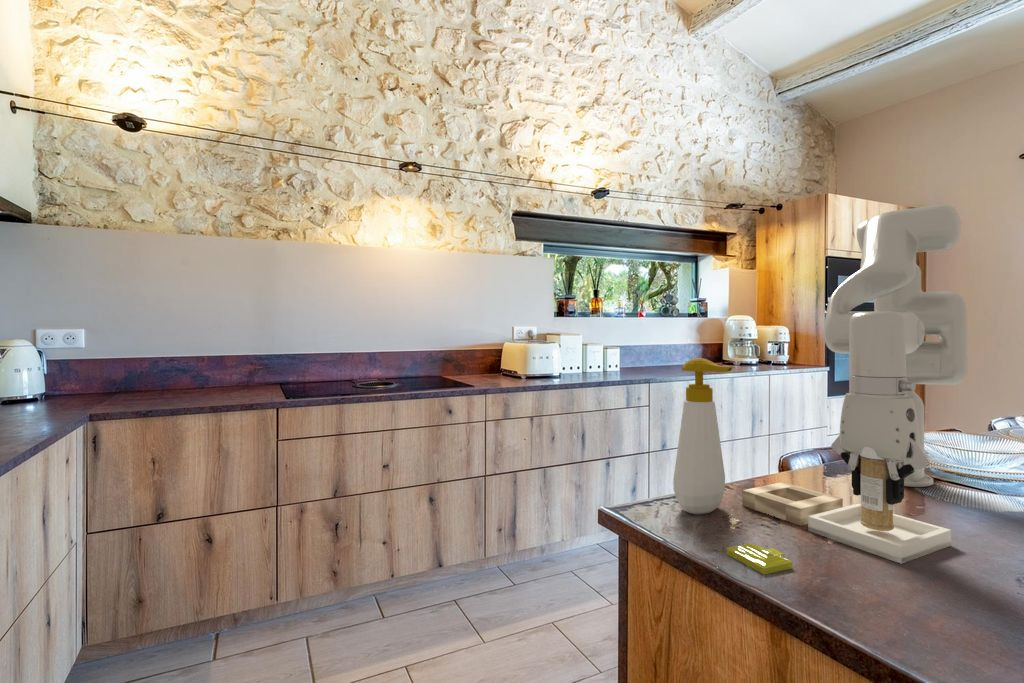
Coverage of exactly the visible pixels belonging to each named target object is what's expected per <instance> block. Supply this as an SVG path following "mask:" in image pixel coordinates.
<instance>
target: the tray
mask: <svg viewBox="0 0 1024 683" xmlns="http://www.w3.org/2000/svg"><path fill="white" fill-rule="evenodd" d="M860 521H861V503H855V504H854V503H853V504H851V505H846V506H843V507H842V508H838V509H834V510H830V511H826V512H823V513H819V514H815V515H811V516H808V524H807V527H808V528H807V531H808V532H810V533H813V534H816V535H819V536H820V537H824V538H828V539H830V540H833V541H836V542H839V543H841V544H845V545H846V546H850V547H852V548H856V549H858V550H861V551H864V552H866V553H869V554H872V555H876V556H878V557H881V558H883V559H887V560H890V561H893V562H895V563H899V564H901V565H902V564H906V563H907V562H911V561H913V560H916V559H919V558H921V557H924V556H926V555H929V554H932V553H935V552H938V551H940V550H943V549H945V548H948V547H951V546H952V529H951V528H947V527H946V528H945V527H943V526H939V525H935V524H931V523H928V522H925V521H921V520H918V519H917V520H916V519H913V518H911V517H906V516H903V515H900V514H896V513H893V525H894V529H893V530H890V531H878V530H874V529H870V528H867V527H865V526H863V525H862V524H861V522H860Z"/></svg>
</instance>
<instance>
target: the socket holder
mask: <svg viewBox="0 0 1024 683" xmlns="http://www.w3.org/2000/svg"><path fill="white" fill-rule="evenodd" d="M741 492H742V495H741V499H742V503H741V505H742V506H743V507H746V508H747V509H751V510H755V511H756V512H760V513H763V514H765V513H766V515H768V514H769V515H768V516H770V517H771V516H772V517H774V516H775V518H776V519H777V518H778V519H779V520H783V521H785V520H786V522H788V521H789V523H791V524H795V525H798V526H802V527H803V526H806V525H808V516H811V515H815V514H819V513H823V512H826V511H830V510H834V509H838V508H842V507H844V506H843V505H844V504H843V502H844V499H843V497H838V496H835V495H830V494H827V493H824V492H821V491H816V490H812V489H809V488H807V487H806V488H805V487H802V486H800V485H795V484H791V483H787V482H784V481H780V482H776V483H771V484H767V485H766V484H765V485H761V486H757V487H755V486H754V487H752V488H746V489H742V491H741Z"/></svg>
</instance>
